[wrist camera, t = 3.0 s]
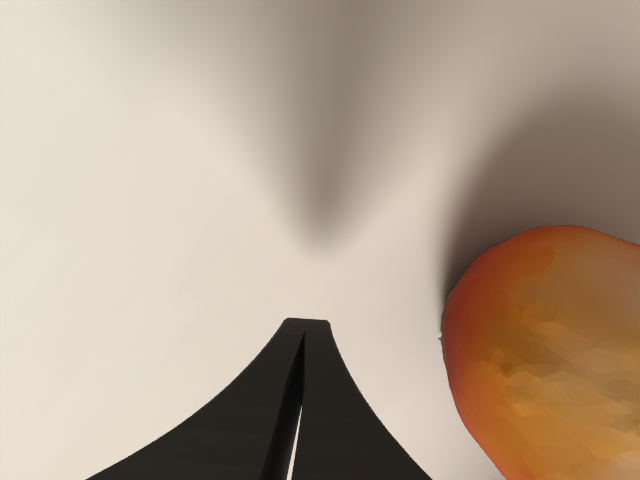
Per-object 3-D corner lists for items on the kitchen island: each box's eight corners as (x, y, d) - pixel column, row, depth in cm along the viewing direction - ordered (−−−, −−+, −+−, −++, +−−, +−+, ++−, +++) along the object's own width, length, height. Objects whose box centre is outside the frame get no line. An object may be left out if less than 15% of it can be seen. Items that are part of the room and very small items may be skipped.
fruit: (360, 390, 14) (513, 526, 6) (433, 220, 15) (626, 152, 8) (521, 469, 15) (830, 672, 7) (573, 301, 16) (867, 314, 9)
